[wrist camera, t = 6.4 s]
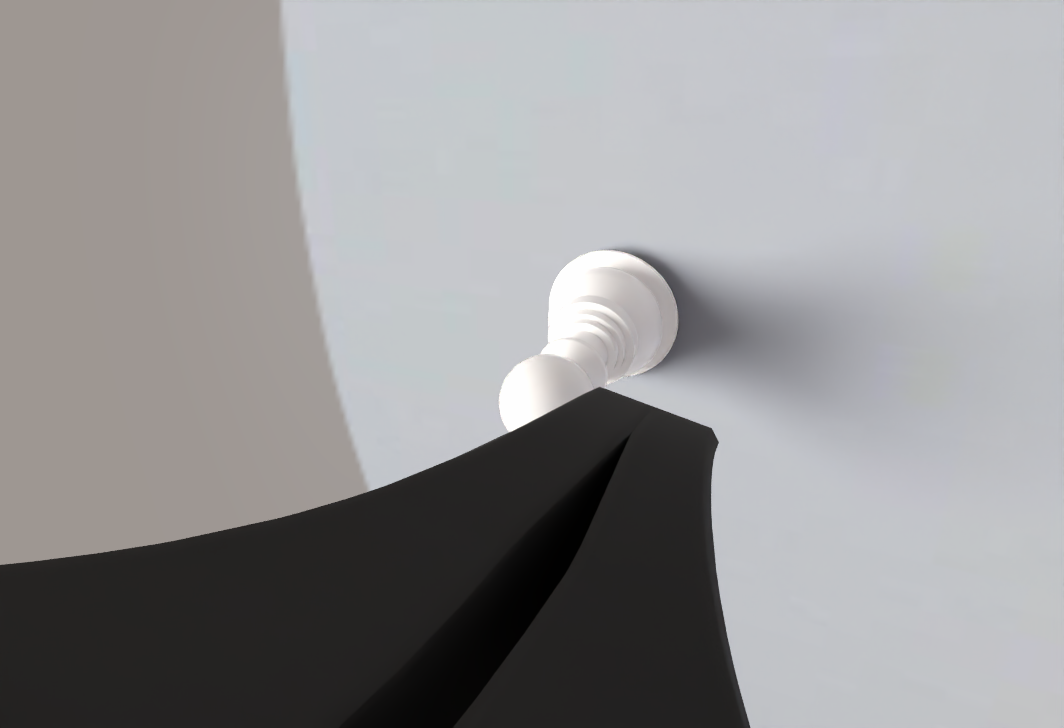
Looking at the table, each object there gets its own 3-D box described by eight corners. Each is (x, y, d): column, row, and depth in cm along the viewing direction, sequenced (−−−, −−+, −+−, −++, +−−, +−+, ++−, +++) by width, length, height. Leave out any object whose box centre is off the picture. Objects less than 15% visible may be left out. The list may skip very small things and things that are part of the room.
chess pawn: (639, 224, 19) (548, 314, 14) (704, 344, 19) (635, 464, 15) (530, 280, 20) (419, 375, 16) (593, 389, 21) (502, 509, 16)
